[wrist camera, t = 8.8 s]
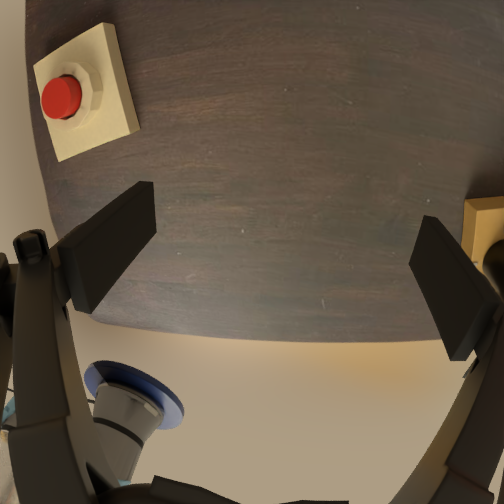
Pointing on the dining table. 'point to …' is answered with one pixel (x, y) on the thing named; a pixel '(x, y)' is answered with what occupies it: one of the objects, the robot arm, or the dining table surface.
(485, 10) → the dining table surface
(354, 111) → the dining table surface
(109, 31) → the switch block
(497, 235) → the tick marked dial plate
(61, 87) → the switch button
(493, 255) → the dimmer knob
